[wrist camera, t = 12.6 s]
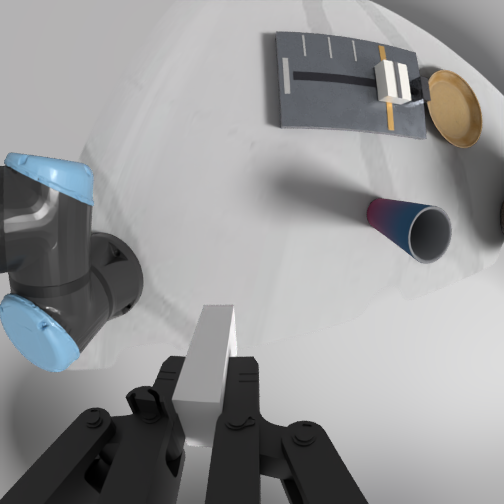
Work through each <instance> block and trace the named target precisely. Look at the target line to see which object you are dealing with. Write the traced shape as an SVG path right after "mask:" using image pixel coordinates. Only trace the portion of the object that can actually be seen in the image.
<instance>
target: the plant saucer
mask: <svg viewBox="0 0 504 504" xmlns="http://www.w3.org/2000/svg"><path fill="white" fill-rule="evenodd" d="M428 83H429V89H430V97H431V101H429V102H427V107H428V111H429V114H430V116H431V119H432V121H433V123H434V125H435V126H436V128H437V129H438V131H439V132H440V133H441V135H442V136H443V137H444V138H445V139H446V140H447V141H448V142H450V143H451V144H453V145H454V146H456V147H459V148H469V147H471V146H473V145H474V144H475V143H476V142H477V141H478V139H479V137H480V134H481V131H482V113H481V108H480V105H479V102H478V100H477V97H476V95H475V93H474V92H473V90H472V88H471V87H470V86H469V84H468V83H467V82H466V81H465V80H464V79H463V78H462V77H460V76H459V75H457V74H456V73H454V72H452V71H449V70H439V71H437V72H435V73H433V75H432V76H431V77H430V79H429V81H428Z"/></svg>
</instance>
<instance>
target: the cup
mask: <svg viewBox="0 0 504 504" xmlns="http://www.w3.org/2000/svg"><path fill="white" fill-rule="evenodd" d="M367 219H368V222H369V223H370V225H371V226H372V227H374V228H375V229H377V230H378V231H379V232H381V233H382V234H383V235H385V236H386V237H387V238H389V239H390V240H391V241H393V242H394V243H395V244H397V245H398V246H399V247H400V248H402V249H403V250H404V251H406V252H407V253H408V254H409V255H411V256H412V257H413V258H414V259H416V260H417V261H419V262H421V263H433V262H435V261H437V260H438V259H439V258H441V257H442V255H443V254H444V253H445V252H446V250H447V248H448V246H449V244H450V240H451V235H452V228H451V222H450V219H449V217H448V215H447V214H446V212H445V211H444V210H442V209H441V208H439V207H436V206H430V205H424V204H418V203H411V202H404V201H397V200H390V199H382V198H379V199H376V200H374V201H373V202H371V204H370V205H369V207H368V210H367Z"/></svg>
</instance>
